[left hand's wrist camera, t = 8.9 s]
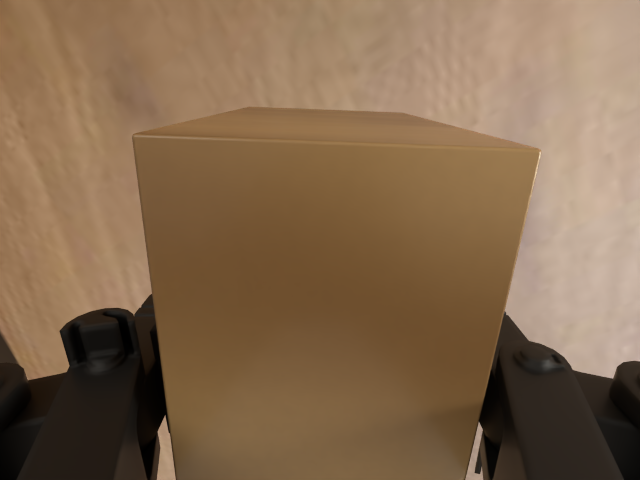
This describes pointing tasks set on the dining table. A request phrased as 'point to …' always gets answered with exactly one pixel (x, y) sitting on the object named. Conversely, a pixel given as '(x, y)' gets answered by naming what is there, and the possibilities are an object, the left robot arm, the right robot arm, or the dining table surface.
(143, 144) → the bar
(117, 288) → the dining table surface
